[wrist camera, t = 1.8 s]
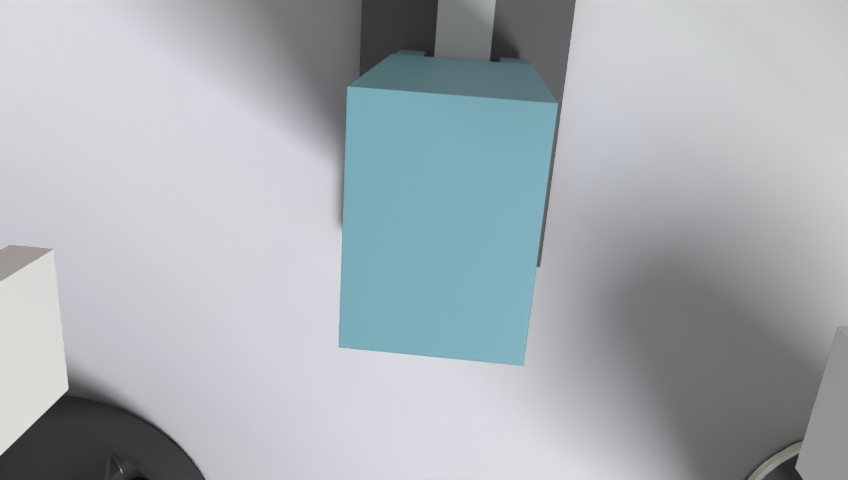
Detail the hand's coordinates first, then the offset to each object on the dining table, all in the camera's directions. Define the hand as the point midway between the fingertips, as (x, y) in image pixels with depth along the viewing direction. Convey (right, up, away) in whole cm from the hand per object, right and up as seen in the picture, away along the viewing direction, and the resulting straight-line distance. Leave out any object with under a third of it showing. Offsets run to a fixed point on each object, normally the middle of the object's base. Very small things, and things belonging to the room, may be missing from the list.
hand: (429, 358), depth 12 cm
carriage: (+1, +6, +16) cm, 17 cm away
